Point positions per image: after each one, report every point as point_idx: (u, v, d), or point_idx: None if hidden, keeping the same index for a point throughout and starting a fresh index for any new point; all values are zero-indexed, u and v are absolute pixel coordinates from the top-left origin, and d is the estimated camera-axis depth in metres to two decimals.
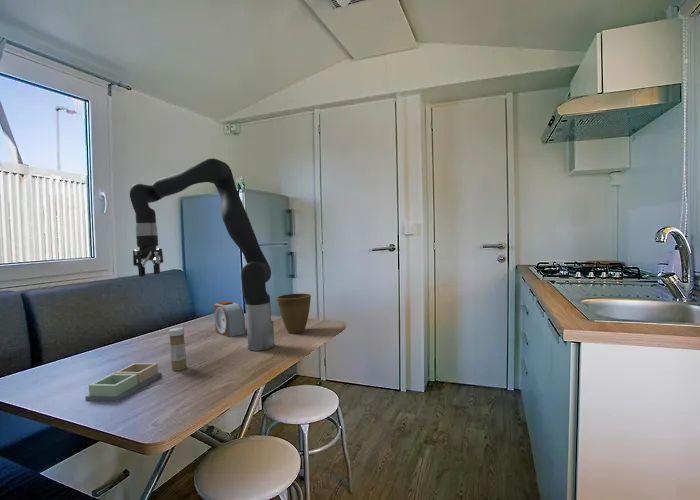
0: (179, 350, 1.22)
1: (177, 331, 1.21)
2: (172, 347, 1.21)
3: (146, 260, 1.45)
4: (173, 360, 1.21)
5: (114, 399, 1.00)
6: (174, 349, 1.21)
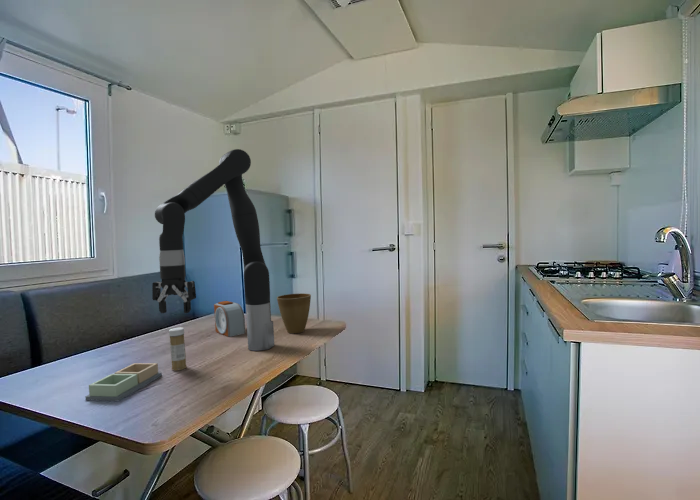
0: (179, 350, 1.22)
1: (177, 331, 1.21)
2: (172, 347, 1.21)
3: None
4: (173, 360, 1.21)
5: (114, 399, 1.00)
6: (174, 349, 1.21)
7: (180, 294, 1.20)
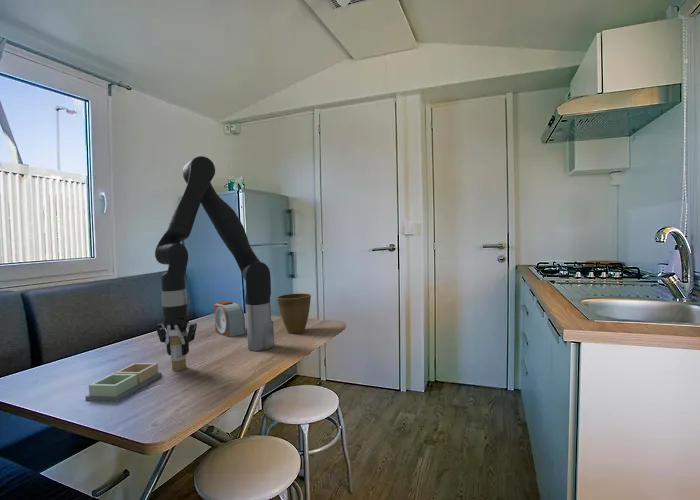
0: (180, 350, 1.22)
1: (177, 331, 1.21)
2: (172, 347, 1.21)
3: None
4: (173, 360, 1.21)
5: (114, 399, 1.00)
6: (174, 349, 1.21)
7: (180, 336, 1.21)
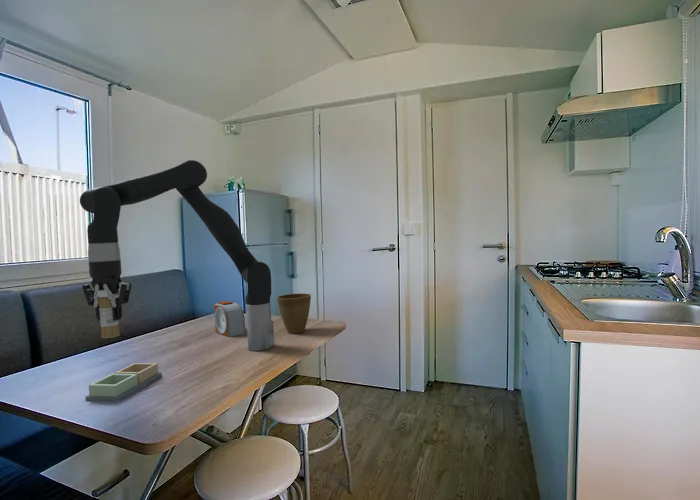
0: (110, 314, 1.03)
1: None
2: (100, 310, 1.02)
3: None
4: (102, 326, 1.03)
5: (114, 399, 1.00)
6: (104, 312, 1.02)
7: (110, 297, 1.02)
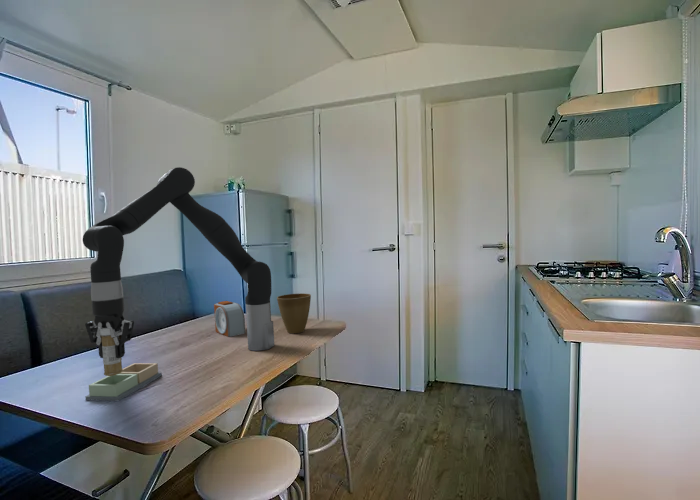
0: (113, 352, 1.03)
1: (109, 330, 1.03)
2: (103, 348, 1.03)
3: None
4: (105, 364, 1.03)
5: (114, 399, 1.00)
6: (106, 350, 1.03)
7: (113, 335, 1.03)
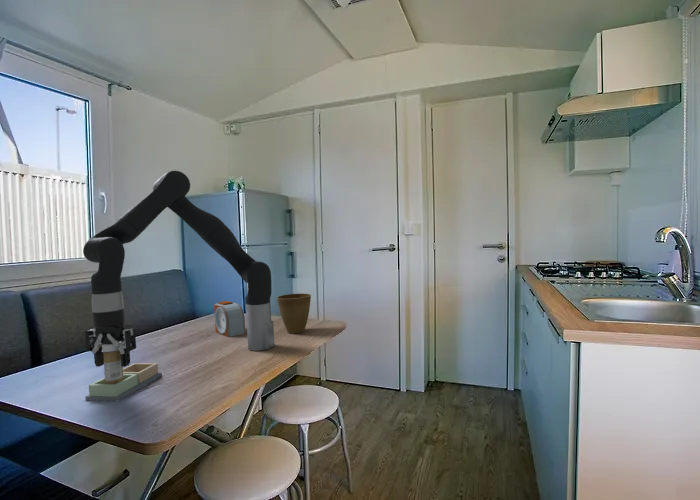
0: (114, 368, 1.04)
1: (111, 346, 1.03)
2: (105, 364, 1.03)
3: (126, 342, 1.06)
4: (106, 380, 1.03)
5: (114, 399, 1.00)
6: (108, 367, 1.03)
7: (116, 345, 1.03)
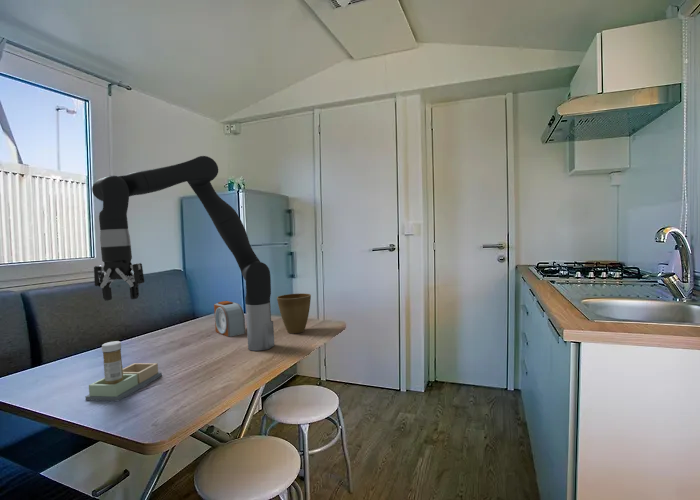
0: (114, 369, 1.04)
1: (111, 346, 1.03)
2: (105, 364, 1.03)
3: (134, 277, 1.11)
4: (106, 380, 1.03)
5: (114, 399, 1.00)
6: (108, 367, 1.03)
7: (125, 278, 1.08)
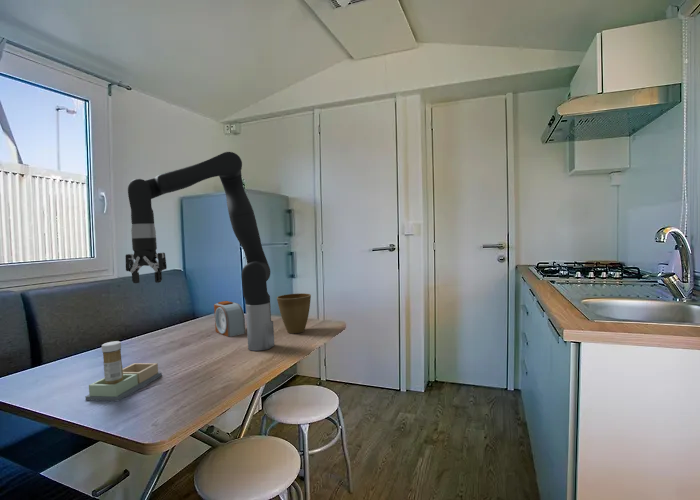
0: (114, 369, 1.04)
1: (111, 346, 1.03)
2: (105, 364, 1.03)
3: None
4: (106, 380, 1.03)
5: (114, 399, 1.00)
6: (108, 367, 1.03)
7: (151, 264, 1.29)
